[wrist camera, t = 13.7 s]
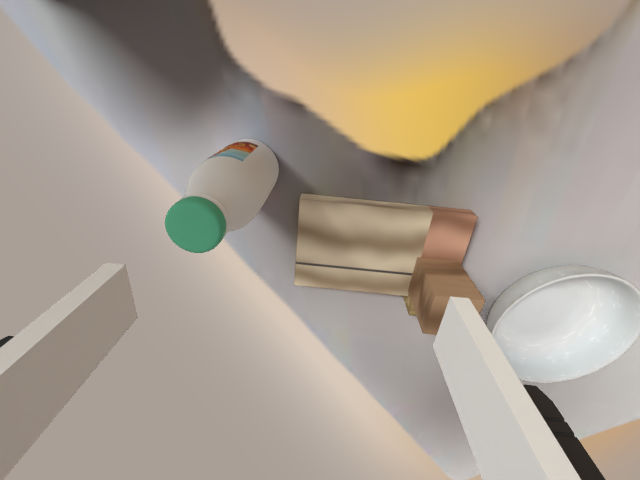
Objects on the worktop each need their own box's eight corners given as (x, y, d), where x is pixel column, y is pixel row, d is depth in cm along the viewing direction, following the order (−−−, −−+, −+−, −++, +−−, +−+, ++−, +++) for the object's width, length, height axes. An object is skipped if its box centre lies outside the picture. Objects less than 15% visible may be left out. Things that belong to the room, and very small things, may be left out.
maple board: (301, 193, 44) (299, 199, 42) (470, 210, 44) (477, 217, 42) (295, 275, 50) (294, 284, 48) (443, 290, 50) (448, 300, 48)
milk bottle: (285, 147, 41) (248, 198, 23) (273, 200, 45) (232, 280, 27) (227, 130, 40) (143, 169, 23) (219, 185, 44) (141, 257, 26)
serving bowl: (547, 364, 57) (573, 398, 51) (447, 328, 54) (462, 360, 48) (641, 277, 48) (686, 305, 42) (527, 228, 45) (558, 252, 39)
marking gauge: (414, 251, 46) (435, 295, 37) (454, 255, 47) (485, 300, 37) (402, 295, 50) (418, 345, 41) (439, 298, 50) (464, 350, 41)
